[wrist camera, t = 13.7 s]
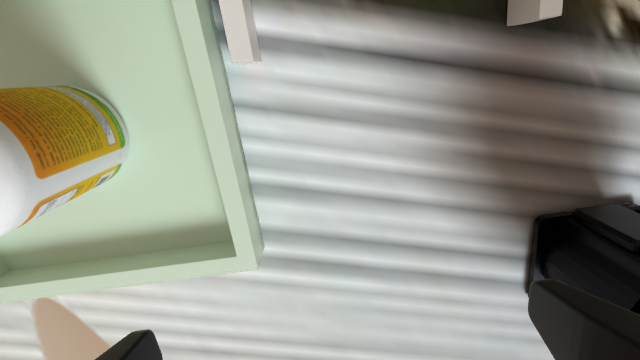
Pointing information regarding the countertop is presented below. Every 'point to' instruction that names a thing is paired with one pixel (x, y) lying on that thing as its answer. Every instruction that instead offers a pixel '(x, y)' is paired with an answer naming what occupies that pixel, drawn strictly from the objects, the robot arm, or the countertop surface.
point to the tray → (134, 148)
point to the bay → (523, 7)
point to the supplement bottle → (54, 149)
